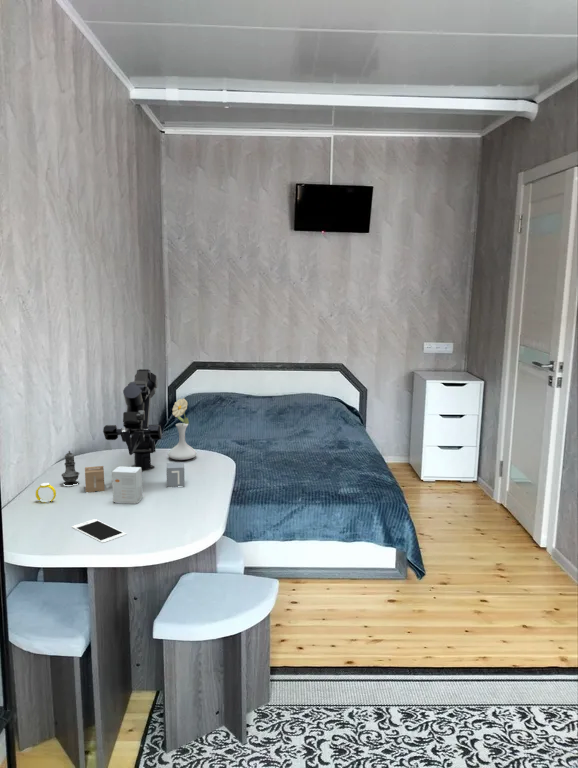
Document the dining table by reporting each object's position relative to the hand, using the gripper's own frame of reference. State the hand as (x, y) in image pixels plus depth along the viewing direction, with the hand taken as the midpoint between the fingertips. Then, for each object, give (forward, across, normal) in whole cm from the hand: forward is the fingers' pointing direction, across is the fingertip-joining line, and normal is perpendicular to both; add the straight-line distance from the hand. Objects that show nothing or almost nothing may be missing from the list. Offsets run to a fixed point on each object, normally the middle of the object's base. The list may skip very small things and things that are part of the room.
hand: (130, 454), depth 200 cm
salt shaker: (+3, -22, +16) cm, 27 cm away
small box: (+15, 0, +4) cm, 15 cm away
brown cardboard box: (+6, -13, +12) cm, 19 cm away
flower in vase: (-17, +14, +36) cm, 42 cm away
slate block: (+4, +14, +14) cm, 20 cm away
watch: (+15, -26, +4) cm, 30 cm away
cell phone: (+32, -4, -12) cm, 34 cm away
